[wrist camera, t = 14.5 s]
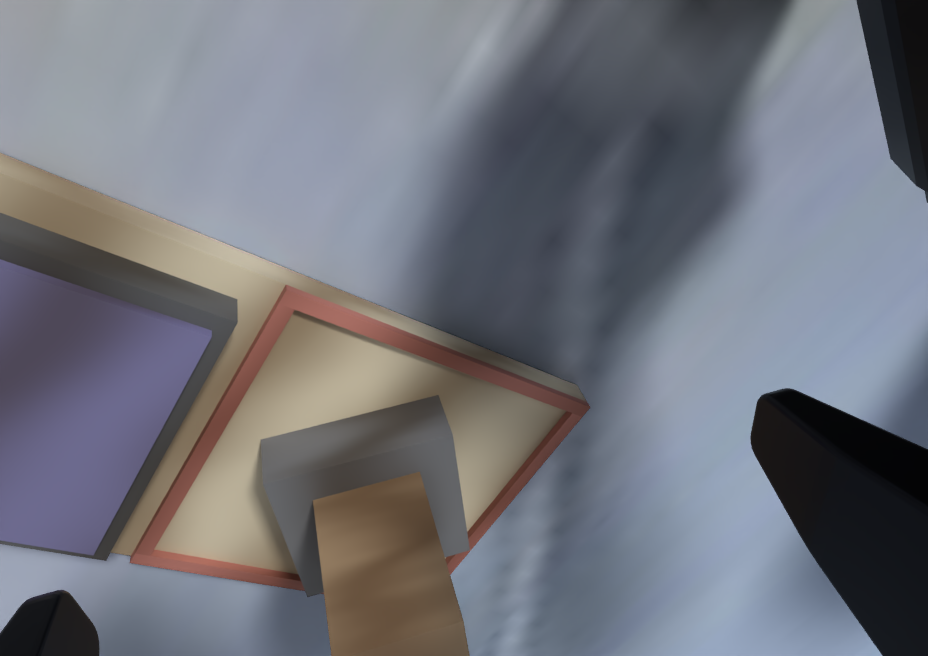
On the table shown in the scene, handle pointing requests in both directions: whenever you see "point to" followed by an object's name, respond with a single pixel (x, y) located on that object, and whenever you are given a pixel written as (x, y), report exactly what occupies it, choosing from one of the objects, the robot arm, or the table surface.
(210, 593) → the table surface
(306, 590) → the stamp
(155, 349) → the board
